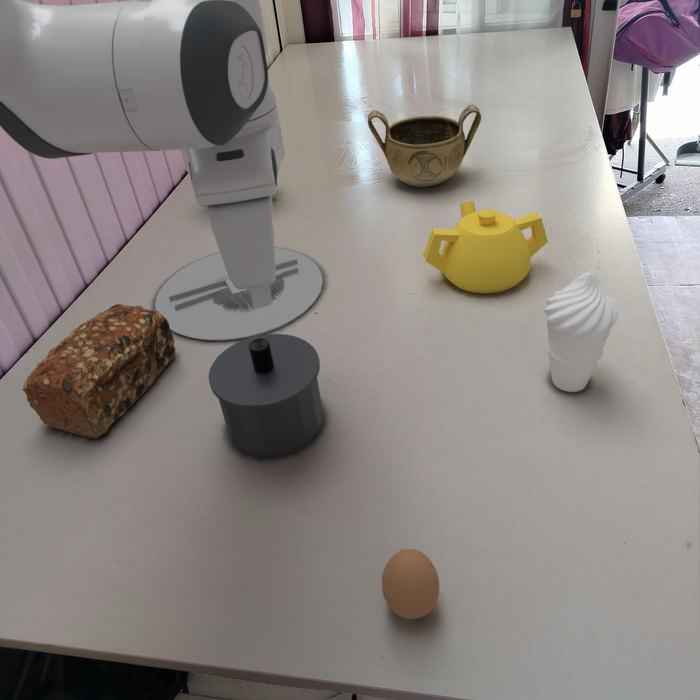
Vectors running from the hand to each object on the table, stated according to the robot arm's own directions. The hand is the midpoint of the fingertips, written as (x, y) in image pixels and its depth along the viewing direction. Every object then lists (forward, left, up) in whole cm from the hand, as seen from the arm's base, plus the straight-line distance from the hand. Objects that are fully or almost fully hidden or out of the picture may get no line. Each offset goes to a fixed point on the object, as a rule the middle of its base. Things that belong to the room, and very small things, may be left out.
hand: (260, 277), depth 64 cm
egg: (-25, -9, -24) cm, 35 cm away
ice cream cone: (+1, -36, -24) cm, 43 cm away
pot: (+3, +2, -23) cm, 24 cm away
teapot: (+31, -34, -23) cm, 52 cm away
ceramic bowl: (+68, -34, -23) cm, 80 cm away
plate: (+36, +6, -23) cm, 44 cm away
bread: (+15, +24, -24) cm, 37 cm away
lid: (+3, +2, -15) cm, 15 cm away
